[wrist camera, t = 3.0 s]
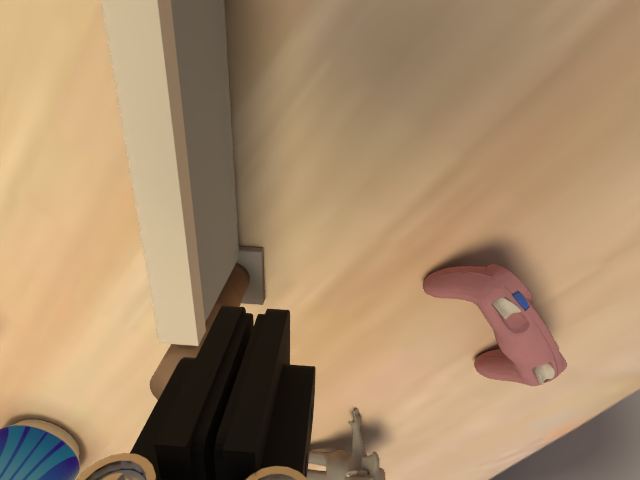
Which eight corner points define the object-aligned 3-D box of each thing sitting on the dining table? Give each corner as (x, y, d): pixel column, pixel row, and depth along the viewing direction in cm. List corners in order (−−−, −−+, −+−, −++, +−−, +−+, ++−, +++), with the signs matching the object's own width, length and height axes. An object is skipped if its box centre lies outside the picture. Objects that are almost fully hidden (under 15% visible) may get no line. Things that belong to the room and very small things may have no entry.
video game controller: (515, 334, 34) (595, 376, 27) (473, 372, 33) (545, 424, 27) (459, 239, 31) (535, 261, 24) (412, 280, 30) (476, 313, 24)
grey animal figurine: (274, 409, 38) (364, 416, 33) (312, 400, 43) (396, 405, 38) (274, 537, 35) (372, 565, 31) (315, 512, 40) (405, 533, 35)
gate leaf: (188, -42, 22) (85, -87, 14) (226, -41, 22) (147, -85, 14) (214, 255, 30) (158, 342, 21) (242, 256, 29) (198, 345, 21)
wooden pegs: (165, -131, 21) (-12, -282, 11) (252, -130, 21) (153, -283, 11) (207, 295, 33) (139, 417, 22) (264, 299, 32) (222, 424, 22)
